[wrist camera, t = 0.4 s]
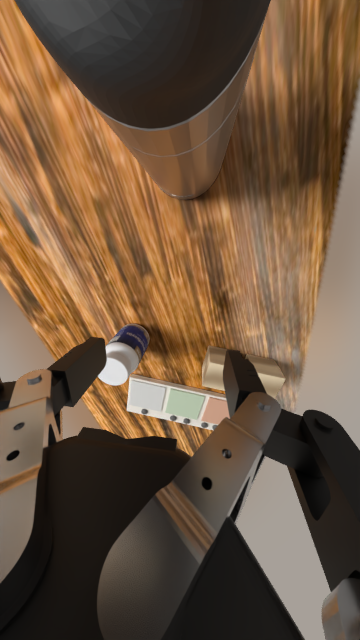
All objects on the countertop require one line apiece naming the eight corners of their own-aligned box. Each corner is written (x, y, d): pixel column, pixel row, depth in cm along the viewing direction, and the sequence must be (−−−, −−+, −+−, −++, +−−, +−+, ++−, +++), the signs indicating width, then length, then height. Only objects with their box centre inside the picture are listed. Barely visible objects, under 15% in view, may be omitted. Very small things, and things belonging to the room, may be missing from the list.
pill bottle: (156, 339, 33) (140, 376, 24) (135, 354, 35) (113, 394, 26) (134, 316, 32) (108, 347, 23) (113, 333, 34) (82, 368, 25)
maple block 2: (246, 353, 33) (254, 372, 28) (274, 359, 33) (285, 378, 28) (237, 374, 35) (243, 394, 30) (263, 380, 35) (272, 401, 30)
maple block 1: (208, 345, 33) (209, 362, 28) (235, 351, 33) (241, 369, 28) (202, 366, 35) (202, 385, 31) (227, 372, 35) (231, 392, 30)
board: (131, 373, 37) (129, 378, 36) (246, 399, 37) (247, 404, 36) (128, 407, 42) (126, 411, 40) (231, 430, 41) (232, 435, 40)
